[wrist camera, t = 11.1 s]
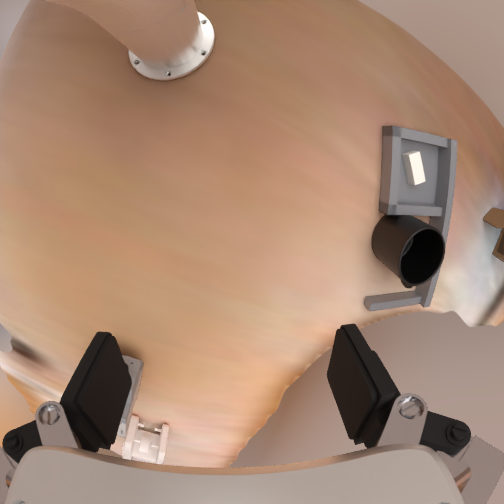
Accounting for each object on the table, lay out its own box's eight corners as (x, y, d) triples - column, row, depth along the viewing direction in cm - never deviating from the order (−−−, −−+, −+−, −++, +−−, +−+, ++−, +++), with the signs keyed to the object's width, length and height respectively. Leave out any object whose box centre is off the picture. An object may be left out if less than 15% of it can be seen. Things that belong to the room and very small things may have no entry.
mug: (370, 280, 45) (394, 307, 37) (370, 214, 40) (399, 232, 32) (412, 268, 45) (439, 291, 37) (415, 207, 40) (447, 222, 32)
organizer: (382, 126, 35) (396, 125, 31) (442, 139, 36) (457, 140, 32) (363, 304, 47) (372, 316, 43) (419, 296, 48) (429, 306, 44)
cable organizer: (163, 443, 62) (159, 474, 51) (129, 433, 60) (122, 464, 49) (170, 421, 57) (165, 458, 46) (131, 409, 55) (121, 445, 44)
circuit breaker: (147, 341, 47) (126, 401, 33) (140, 384, 51) (125, 438, 37) (111, 328, 45) (82, 384, 31) (109, 373, 50) (89, 425, 36)
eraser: (401, 153, 36) (408, 154, 34) (412, 150, 36) (419, 151, 34) (408, 183, 38) (415, 185, 36) (418, 179, 38) (425, 181, 36)
